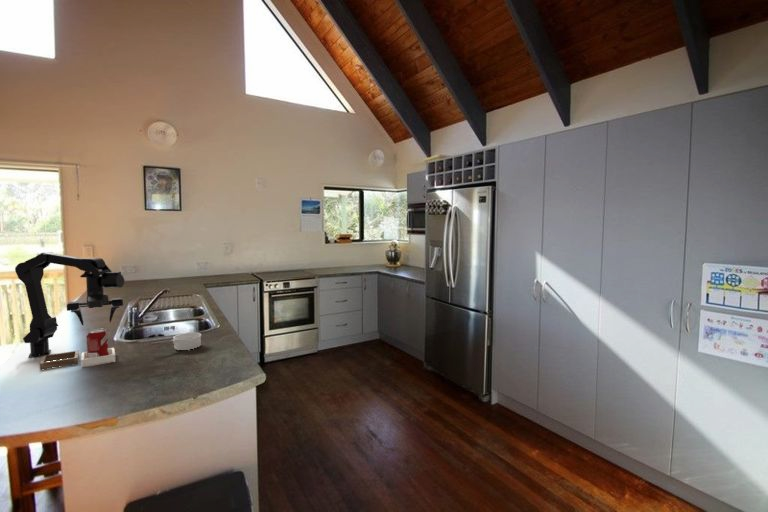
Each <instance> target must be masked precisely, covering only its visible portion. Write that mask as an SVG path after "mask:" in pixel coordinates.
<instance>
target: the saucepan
mask: <svg viewBox="0 0 768 512" xmlns="http://www.w3.org/2000/svg"><path fill="white" fill-rule="evenodd" d="M161 344H169V345H174V346H173V347H174V350H177V351H179V350H188V351H191V350H190V349H193V350H195V349H194V348H196V349H198V348H199V347H201V345H202V333H200V332H193V331H192V332H184V333H180V334H176V335H174V336H173V337H172V339H170V340H160V341H154V342H151V345H152V346H154V345H161ZM197 347H198V348H197Z"/></svg>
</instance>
